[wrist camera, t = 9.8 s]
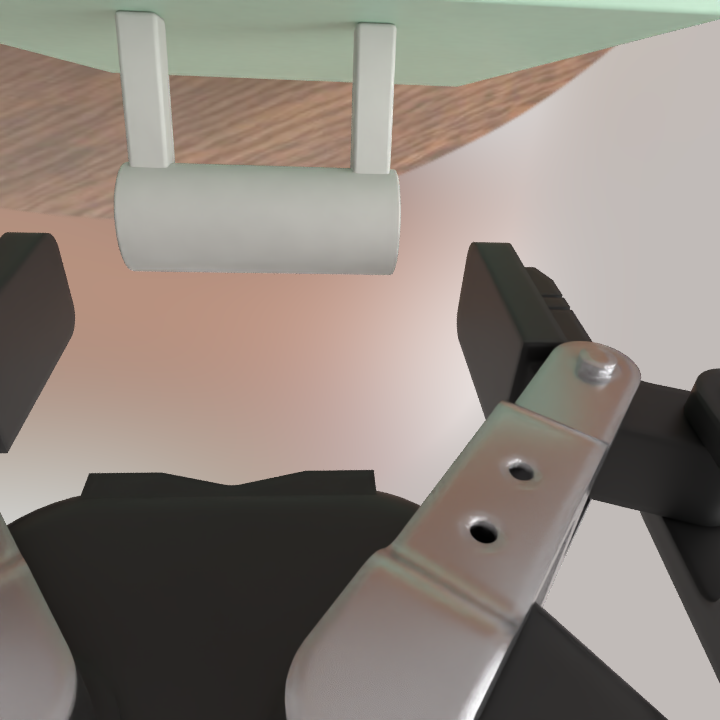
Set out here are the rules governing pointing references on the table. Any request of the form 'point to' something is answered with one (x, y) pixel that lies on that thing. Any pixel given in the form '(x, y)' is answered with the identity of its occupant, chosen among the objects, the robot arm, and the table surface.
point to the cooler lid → (313, 63)
